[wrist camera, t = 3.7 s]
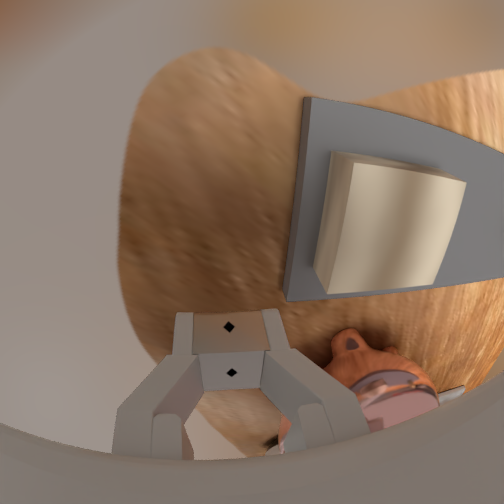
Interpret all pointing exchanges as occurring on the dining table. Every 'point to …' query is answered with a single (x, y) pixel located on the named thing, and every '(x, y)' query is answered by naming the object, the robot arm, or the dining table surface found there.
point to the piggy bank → (377, 383)
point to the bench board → (404, 149)
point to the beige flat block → (384, 223)
